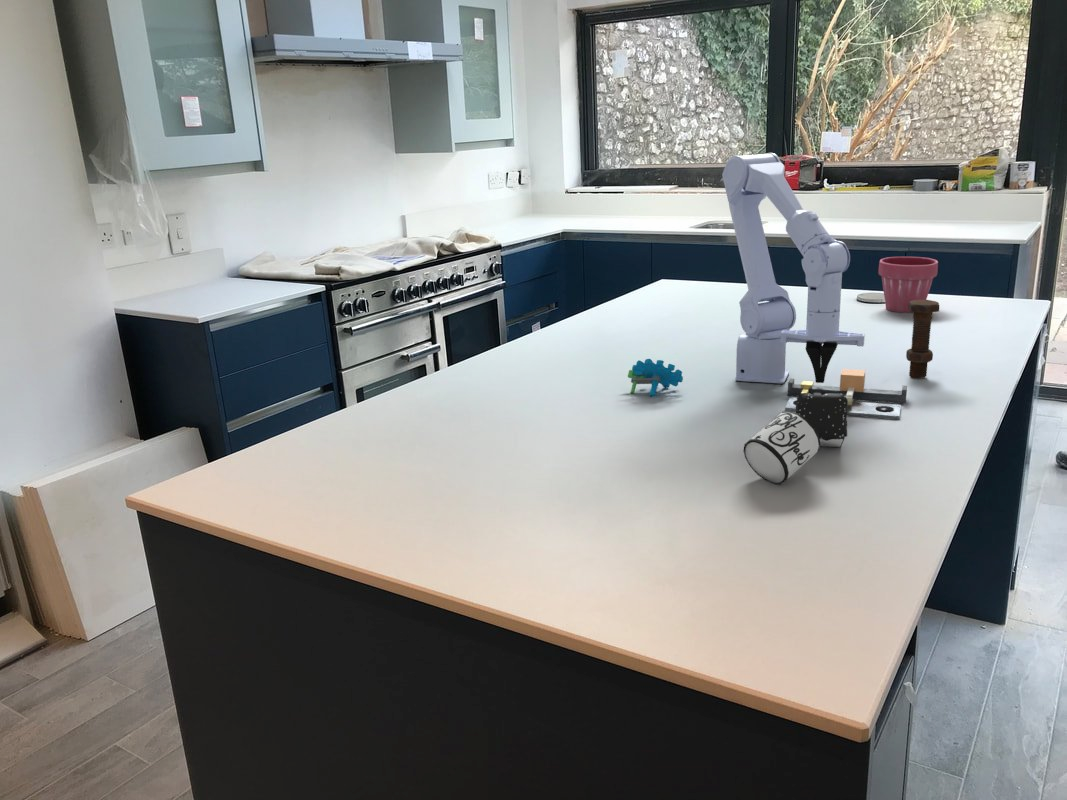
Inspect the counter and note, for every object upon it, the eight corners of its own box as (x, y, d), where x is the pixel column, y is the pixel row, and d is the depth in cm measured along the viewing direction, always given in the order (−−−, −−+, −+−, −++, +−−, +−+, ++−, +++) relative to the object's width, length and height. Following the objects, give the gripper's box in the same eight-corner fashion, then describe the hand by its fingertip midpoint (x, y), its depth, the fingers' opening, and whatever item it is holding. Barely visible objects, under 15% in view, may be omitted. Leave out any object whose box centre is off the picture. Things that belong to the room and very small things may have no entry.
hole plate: (784, 410, 158) (784, 406, 157) (789, 400, 163) (790, 396, 163) (899, 419, 150) (899, 415, 150) (900, 408, 156) (900, 404, 155)
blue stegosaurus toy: (691, 381, 172) (671, 354, 165) (685, 407, 170) (665, 382, 163) (641, 382, 179) (620, 357, 171) (635, 408, 176) (613, 383, 169)
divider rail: (782, 406, 160) (782, 392, 159) (789, 391, 168) (790, 378, 167) (904, 415, 152) (905, 401, 151) (906, 399, 160) (907, 385, 159)
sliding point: (836, 404, 156) (837, 384, 155) (841, 388, 165) (842, 368, 164) (860, 406, 154) (861, 385, 153) (864, 389, 163) (865, 370, 162)
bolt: (934, 381, 169) (941, 305, 165) (906, 381, 170) (912, 305, 166) (928, 373, 175) (934, 299, 170) (901, 373, 176) (906, 299, 171)
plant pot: (943, 313, 224) (948, 263, 220) (887, 316, 224) (891, 265, 220) (920, 302, 237) (924, 255, 233) (868, 304, 238) (871, 257, 234)
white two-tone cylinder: (800, 499, 122) (803, 431, 119) (735, 484, 128) (736, 420, 125) (863, 443, 141) (867, 384, 138) (803, 433, 147) (805, 376, 144)
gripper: (779, 312, 159) (776, 384, 163) (864, 315, 154) (859, 390, 158) (784, 305, 165) (782, 374, 169) (867, 307, 160) (862, 379, 164)
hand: (820, 381), depth 164 cm, fingers closed
